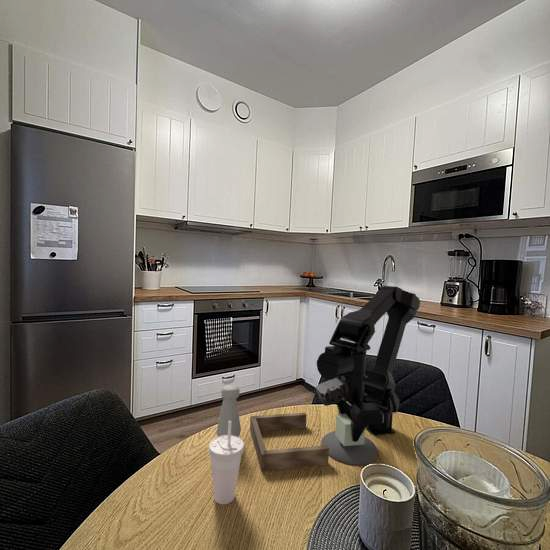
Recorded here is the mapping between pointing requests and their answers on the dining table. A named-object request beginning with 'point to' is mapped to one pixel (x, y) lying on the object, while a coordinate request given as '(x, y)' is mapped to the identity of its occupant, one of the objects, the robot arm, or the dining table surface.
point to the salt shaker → (229, 412)
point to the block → (346, 431)
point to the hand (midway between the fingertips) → (349, 434)
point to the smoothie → (225, 465)
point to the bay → (284, 456)
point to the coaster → (350, 450)
